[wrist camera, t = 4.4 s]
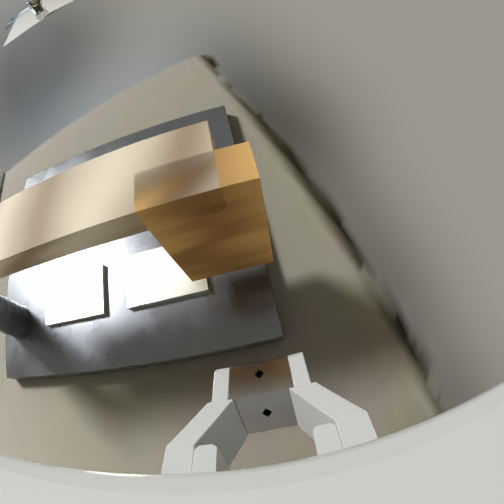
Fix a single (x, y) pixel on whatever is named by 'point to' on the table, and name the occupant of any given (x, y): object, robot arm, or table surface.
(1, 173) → the external hard drive
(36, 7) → the beer glass
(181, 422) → the table surface
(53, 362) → the base plate
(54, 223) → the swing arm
